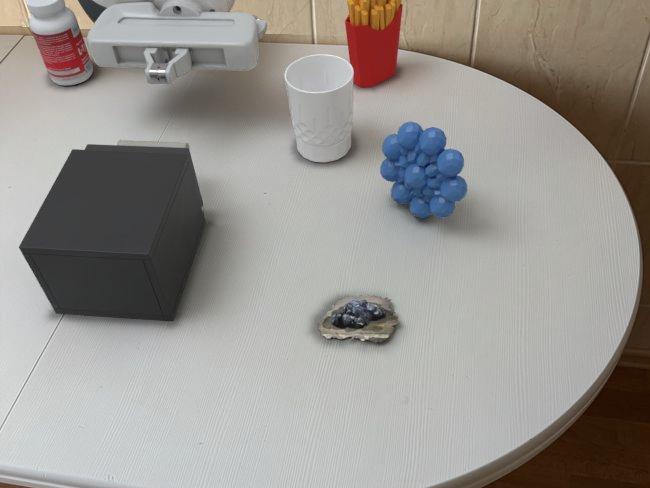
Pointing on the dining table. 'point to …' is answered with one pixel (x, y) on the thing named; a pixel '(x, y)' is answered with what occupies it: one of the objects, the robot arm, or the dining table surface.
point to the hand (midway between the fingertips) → (158, 78)
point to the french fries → (373, 39)
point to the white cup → (321, 105)
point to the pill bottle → (59, 41)
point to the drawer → (150, 150)
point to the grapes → (423, 170)
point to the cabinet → (117, 234)
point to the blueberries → (359, 319)
